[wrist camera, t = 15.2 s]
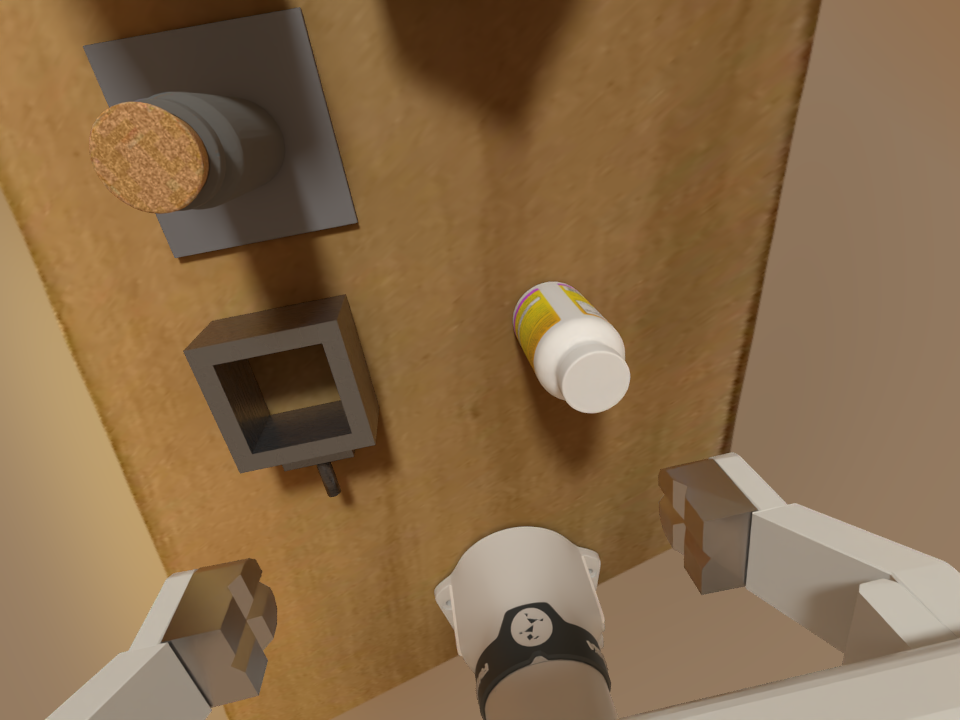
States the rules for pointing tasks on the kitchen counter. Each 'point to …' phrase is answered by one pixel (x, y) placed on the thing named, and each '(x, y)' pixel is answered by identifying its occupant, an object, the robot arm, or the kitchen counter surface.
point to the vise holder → (295, 432)
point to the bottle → (185, 150)
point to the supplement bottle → (571, 347)
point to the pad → (254, 77)
